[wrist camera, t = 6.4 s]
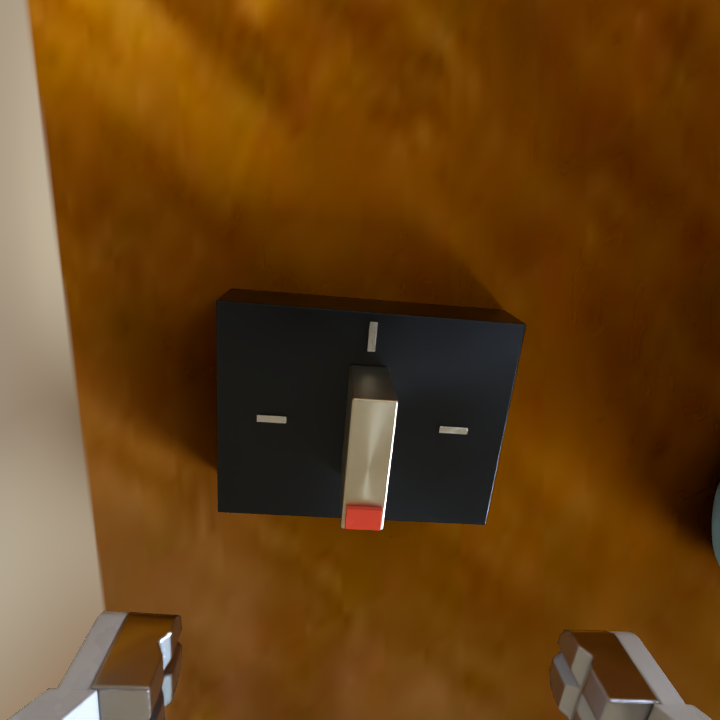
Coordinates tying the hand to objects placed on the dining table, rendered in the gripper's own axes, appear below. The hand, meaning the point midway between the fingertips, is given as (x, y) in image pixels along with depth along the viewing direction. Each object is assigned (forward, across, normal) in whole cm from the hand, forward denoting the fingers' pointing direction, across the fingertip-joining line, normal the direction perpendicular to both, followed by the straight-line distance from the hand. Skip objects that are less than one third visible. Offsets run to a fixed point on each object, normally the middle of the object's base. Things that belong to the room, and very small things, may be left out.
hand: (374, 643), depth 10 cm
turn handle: (+13, -1, +1) cm, 13 cm away
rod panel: (+16, -1, +1) cm, 16 cm away
